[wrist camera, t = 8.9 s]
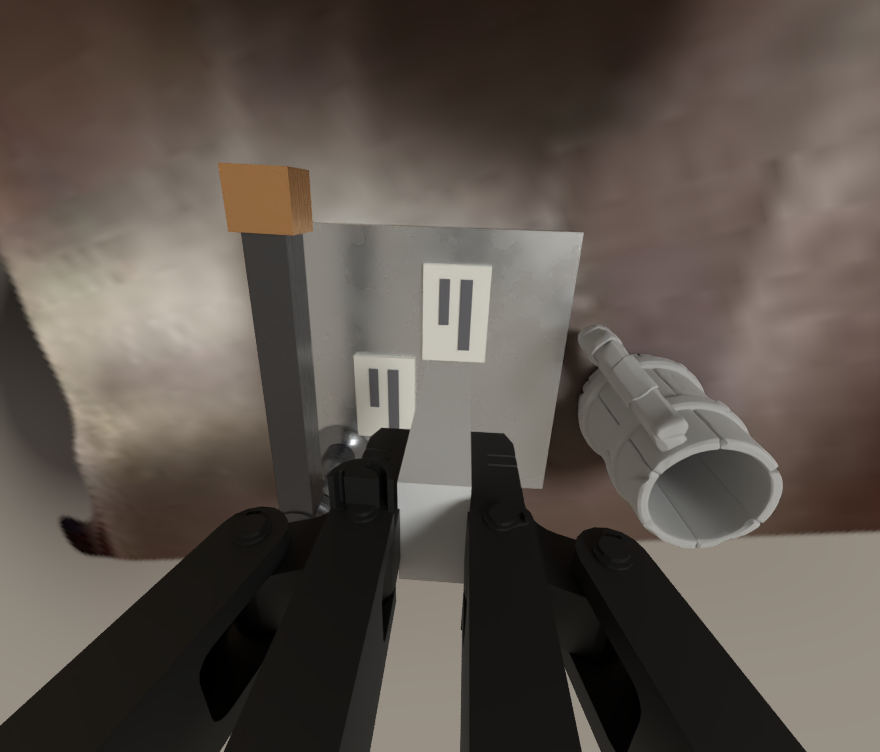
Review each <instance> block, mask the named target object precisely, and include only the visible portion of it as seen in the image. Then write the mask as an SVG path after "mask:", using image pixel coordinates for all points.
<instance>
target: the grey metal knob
mask: <svg viewBox="0 0 880 752" xmlns="http://www.w3.org/2000/svg"><path fill="white" fill-rule="evenodd" d="M319 440H320V452H321V465H322V477H323V489H324V493H325V494H327V495H328V496H329V490H328V481H327V475H328V474H329V473H330V471H331V470H332V469H333V468H334V467H336V466H338V465H339V464H341V463H343V462H346V461H349V460H353V459H360V458H362V456H363V453H364V451H365V450H366V446H367V443H368V442H367V440H366V439H365V438H364V437H363V436H361V435H358V432H356V431H354V430H352V429H349V428H346V427H340V426H333V427H328V428H325V429H322V430H320V431H319Z"/></svg>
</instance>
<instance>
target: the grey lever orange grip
mask: <svg viewBox="0 0 880 752" xmlns="http://www.w3.org/2000/svg"><path fill="white" fill-rule="evenodd" d="M218 166H219V173H220V180H221V186H222V193H223V199H224V206H225V213H226V219H227V226H228V232H241V236H242V243H243V250H244V257H245V264H246V272H247V279H248V286H249V293H250V300H251V307H252V315H253V322H254V329H255V336H256V343H257V350H258V358H259V365H260V372H261V379H262V386H263V394H264V401H265V408H266V415H267V422H268V429H269V437H270V444H271V451H272V458H273V465H274V472H275V480H276V487H277V494H278V501H279V510H280V511H282V512H283V513H284V515H285V516H286V518H287V519H288V523H289V522H295V521H300V520H306V519H311V518H315V517H319V516H322V515H324V514H326V513H328V512H329V510H330V500H329V496H328V495H327V494H325V493H324V489H323V477H322V465H321V452H320V440H319V428H318V415H317V403H316V391H315V378H314V366H313V354H312V341H311V329H310V317H309V304H308V292H307V280H306V267H305V255H304V243H303V233H308V232H312V231H313V221H312V207H311V193H310V179H309V170H305V169H299V168H293V167H288V166H270V165H252V164H233V163H218Z"/></svg>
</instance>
